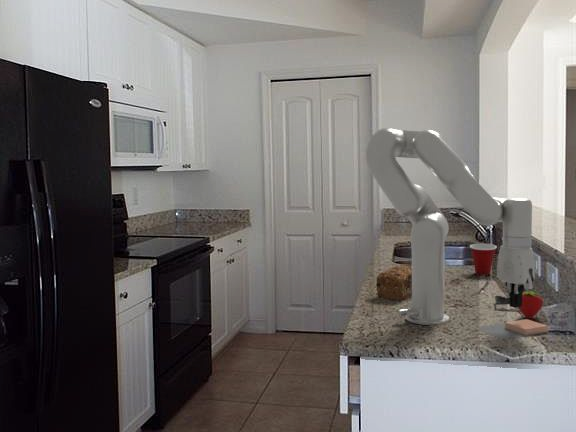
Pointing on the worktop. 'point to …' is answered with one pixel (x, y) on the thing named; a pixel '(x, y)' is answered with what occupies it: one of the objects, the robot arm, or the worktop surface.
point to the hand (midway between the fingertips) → (515, 306)
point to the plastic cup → (483, 257)
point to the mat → (502, 332)
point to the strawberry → (530, 304)
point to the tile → (526, 327)
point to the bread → (395, 282)
